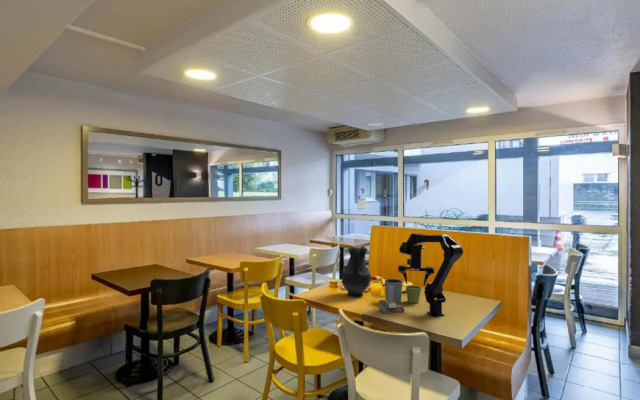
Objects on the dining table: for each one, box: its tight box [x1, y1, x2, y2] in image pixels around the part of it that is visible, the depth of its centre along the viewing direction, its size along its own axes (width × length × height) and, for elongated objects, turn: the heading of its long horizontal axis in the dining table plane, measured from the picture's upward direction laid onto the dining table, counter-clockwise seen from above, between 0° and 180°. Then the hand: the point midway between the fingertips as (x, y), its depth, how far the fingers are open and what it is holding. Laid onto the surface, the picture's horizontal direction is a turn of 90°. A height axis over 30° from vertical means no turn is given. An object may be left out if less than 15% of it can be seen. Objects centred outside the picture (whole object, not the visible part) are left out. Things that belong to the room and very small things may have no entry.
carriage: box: [385, 286, 397, 308], centre depth 190 cm, size 4×5×10 cm
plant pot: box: [404, 284, 423, 304], centre depth 209 cm, size 9×9×9 cm
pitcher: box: [341, 246, 371, 298], centre depth 219 cm, size 17×21×30 cm
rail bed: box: [378, 299, 405, 314], centre depth 190 cm, size 12×5×6 cm, turn 105°
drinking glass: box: [384, 278, 404, 304], centre depth 209 cm, size 10×10×12 cm
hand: (415, 284), depth 199 cm, fingers open, 9 cm apart
